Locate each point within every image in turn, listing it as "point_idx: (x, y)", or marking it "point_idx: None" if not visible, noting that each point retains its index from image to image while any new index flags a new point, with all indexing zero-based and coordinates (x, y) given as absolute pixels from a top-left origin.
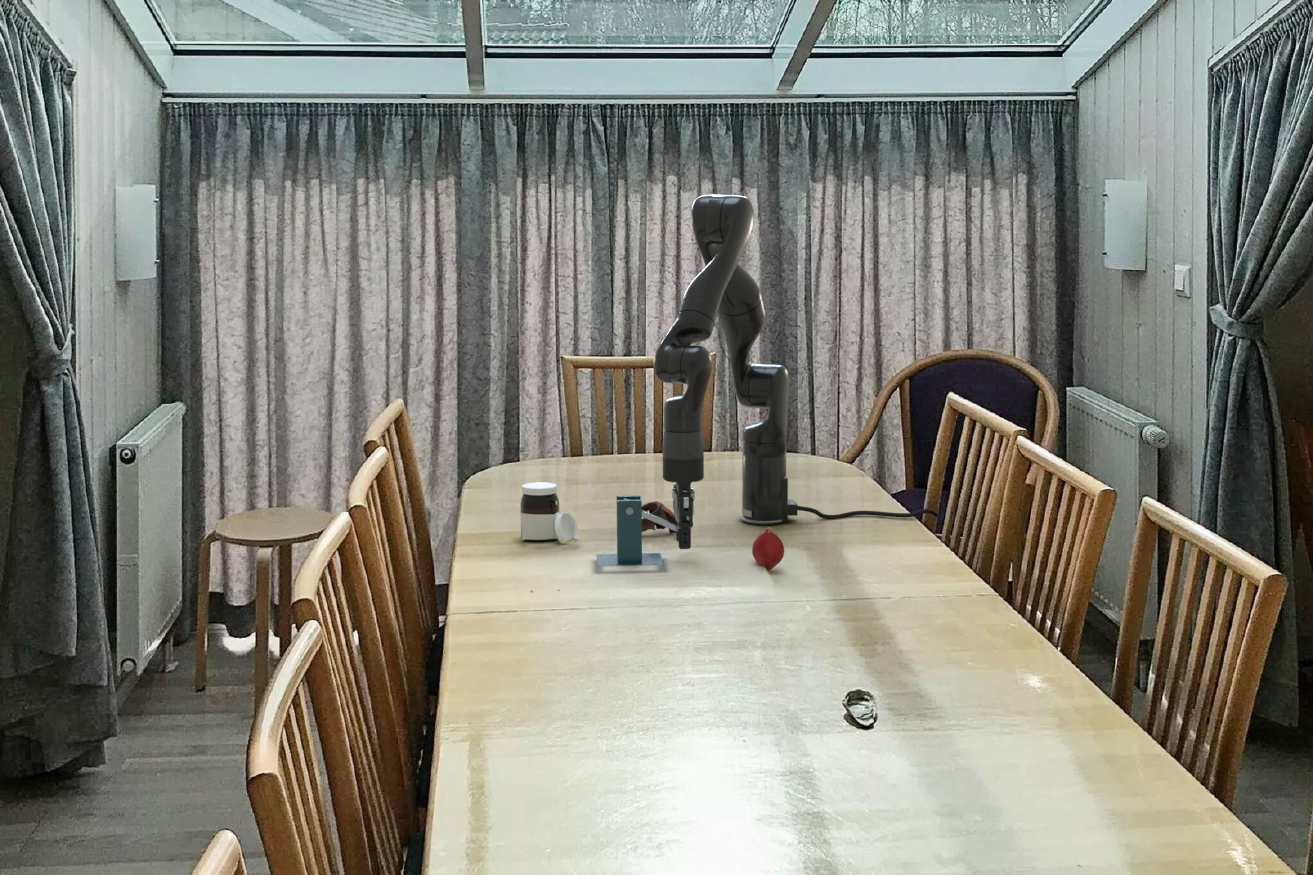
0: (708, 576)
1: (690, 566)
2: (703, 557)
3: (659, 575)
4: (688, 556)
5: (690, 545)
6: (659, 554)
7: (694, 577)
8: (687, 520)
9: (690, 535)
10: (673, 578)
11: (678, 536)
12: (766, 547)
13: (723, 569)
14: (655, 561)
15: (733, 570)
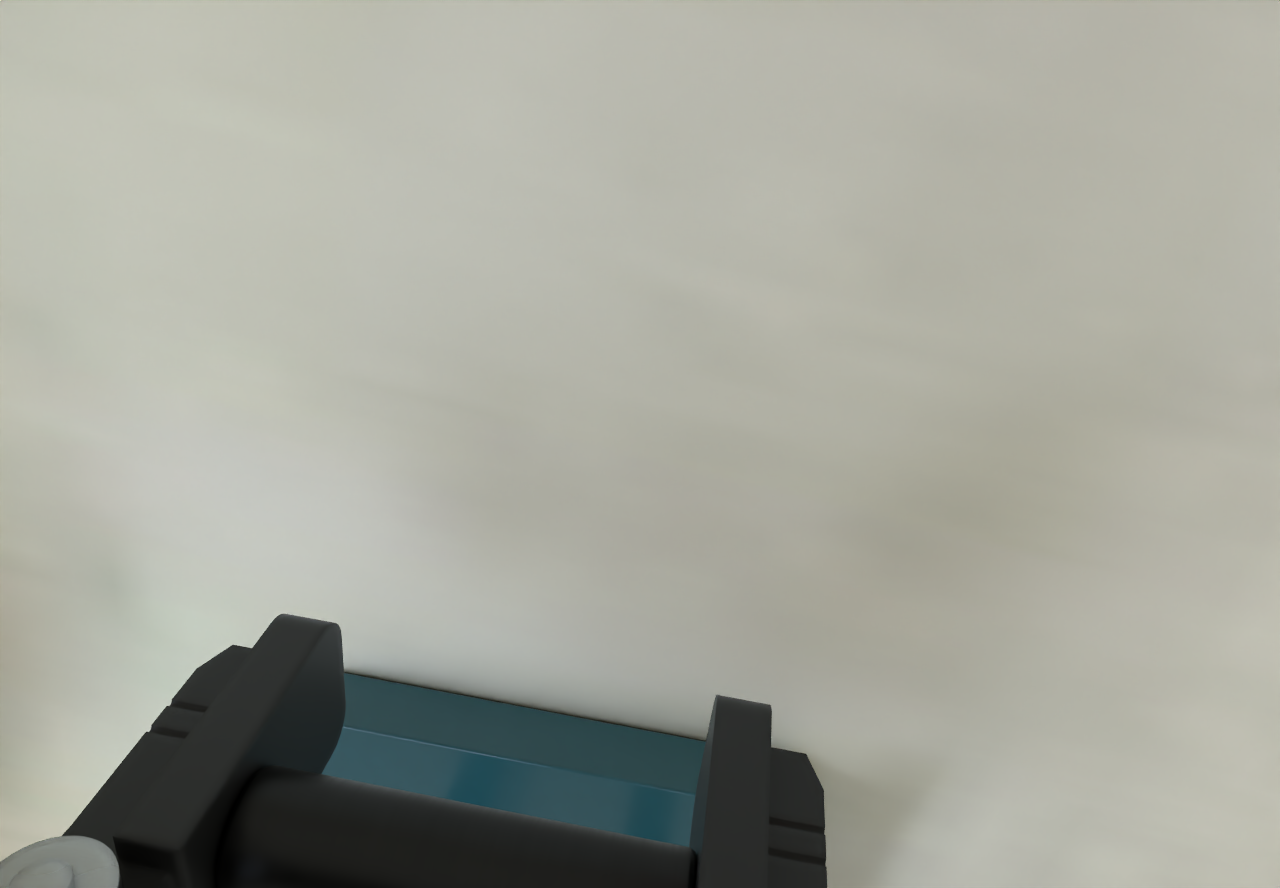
0: (1175, 428)
1: (639, 491)
2: (227, 249)
3: (919, 813)
4: (186, 399)
5: (767, 729)
6: (366, 740)
7: (1143, 575)
8: (117, 874)
9: (764, 864)
10: (1086, 749)
11: (312, 769)
12: None
13: (893, 152)
14: (651, 837)
15: (1002, 17)
